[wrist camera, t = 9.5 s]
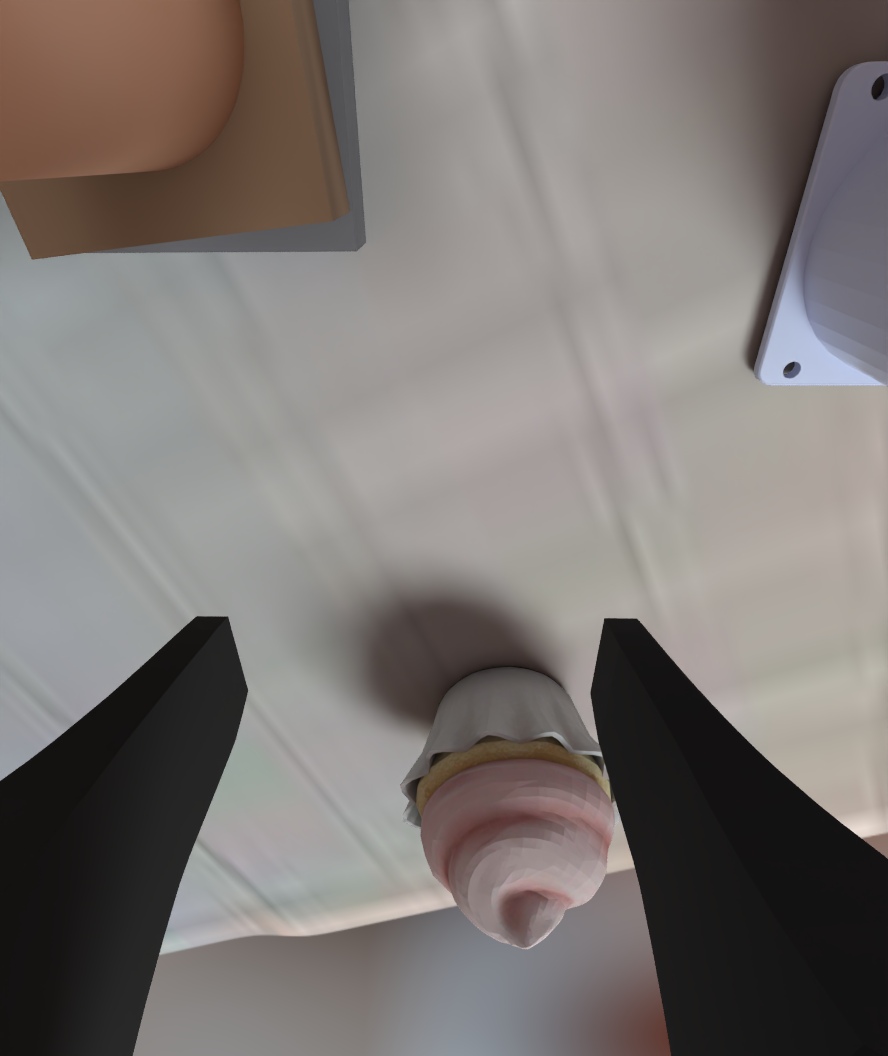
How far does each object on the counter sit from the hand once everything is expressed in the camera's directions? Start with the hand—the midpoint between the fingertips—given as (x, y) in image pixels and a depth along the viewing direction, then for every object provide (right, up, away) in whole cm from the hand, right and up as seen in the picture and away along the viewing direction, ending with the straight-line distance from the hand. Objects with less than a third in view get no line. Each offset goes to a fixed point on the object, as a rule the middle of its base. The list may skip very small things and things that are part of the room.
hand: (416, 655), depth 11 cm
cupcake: (+3, -6, +16) cm, 18 cm away
